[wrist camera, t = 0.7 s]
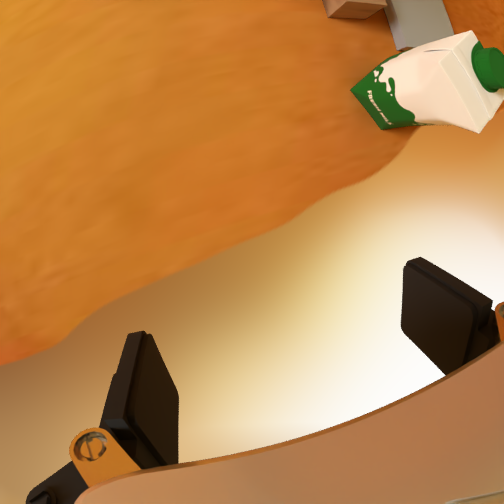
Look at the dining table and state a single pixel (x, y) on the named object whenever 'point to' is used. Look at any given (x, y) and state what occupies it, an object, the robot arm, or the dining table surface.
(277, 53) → the dining table surface
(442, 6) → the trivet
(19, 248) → the dining table surface
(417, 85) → the soya milk
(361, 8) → the walnut block
